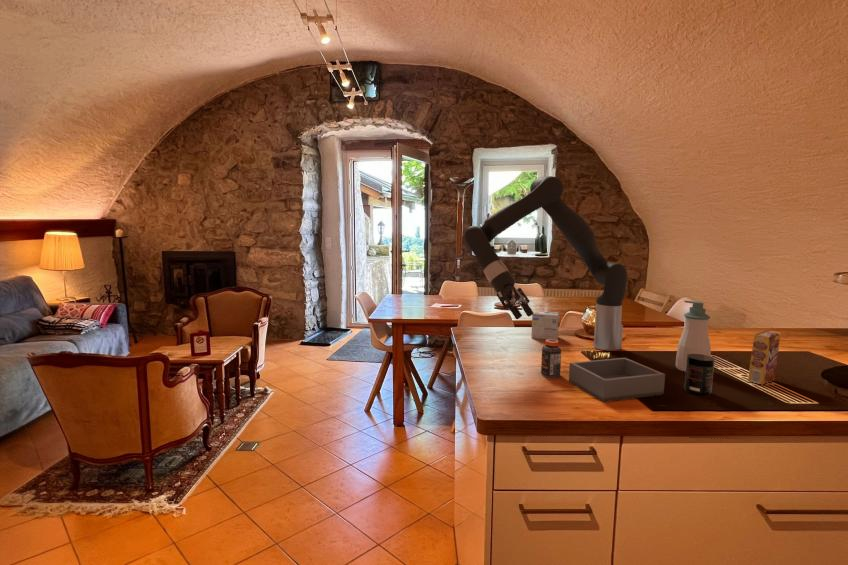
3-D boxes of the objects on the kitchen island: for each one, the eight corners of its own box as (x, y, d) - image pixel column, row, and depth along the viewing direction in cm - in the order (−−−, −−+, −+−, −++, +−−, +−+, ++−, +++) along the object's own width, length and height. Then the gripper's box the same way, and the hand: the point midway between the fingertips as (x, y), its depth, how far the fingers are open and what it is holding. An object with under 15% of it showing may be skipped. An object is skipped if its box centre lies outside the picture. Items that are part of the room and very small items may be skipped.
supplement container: (713, 391, 128) (716, 356, 127) (709, 398, 123) (713, 362, 122) (686, 386, 133) (689, 352, 131) (681, 392, 128) (684, 357, 126)
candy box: (763, 386, 133) (769, 336, 131) (747, 382, 137) (752, 333, 134) (775, 380, 138) (781, 332, 136) (759, 376, 141) (764, 329, 139)
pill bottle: (538, 371, 145) (539, 337, 143) (556, 371, 145) (557, 337, 144) (544, 378, 139) (546, 342, 137) (563, 377, 139) (564, 342, 138)
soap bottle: (680, 363, 154) (685, 298, 151) (713, 370, 147) (719, 302, 144) (671, 370, 147) (676, 302, 144) (705, 377, 140) (711, 306, 137)
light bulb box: (558, 336, 190) (559, 312, 188) (557, 340, 183) (558, 315, 182) (532, 334, 193) (533, 310, 192) (531, 338, 187) (532, 313, 185)
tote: (623, 375, 141) (625, 357, 140) (663, 394, 126) (665, 374, 125) (568, 381, 136) (569, 362, 135) (603, 401, 121) (604, 380, 120)
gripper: (496, 270, 144) (524, 312, 139) (516, 269, 155) (543, 308, 150) (480, 284, 148) (507, 325, 143) (501, 282, 159) (526, 320, 154)
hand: (525, 316), depth 146 cm, fingers open, 8 cm apart
